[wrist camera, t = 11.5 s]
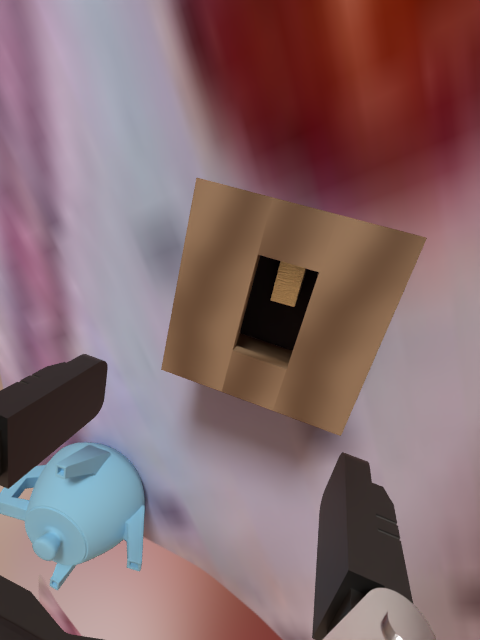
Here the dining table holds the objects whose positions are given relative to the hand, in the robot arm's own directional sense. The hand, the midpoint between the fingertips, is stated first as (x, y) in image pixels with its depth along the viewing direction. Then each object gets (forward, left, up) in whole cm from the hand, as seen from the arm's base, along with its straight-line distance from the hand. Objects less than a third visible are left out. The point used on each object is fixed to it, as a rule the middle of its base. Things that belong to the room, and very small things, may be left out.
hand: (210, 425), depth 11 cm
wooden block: (0, -4, -20) cm, 20 cm away
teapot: (+16, +33, -23) cm, 43 cm away
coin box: (0, 0, -23) cm, 23 cm away
